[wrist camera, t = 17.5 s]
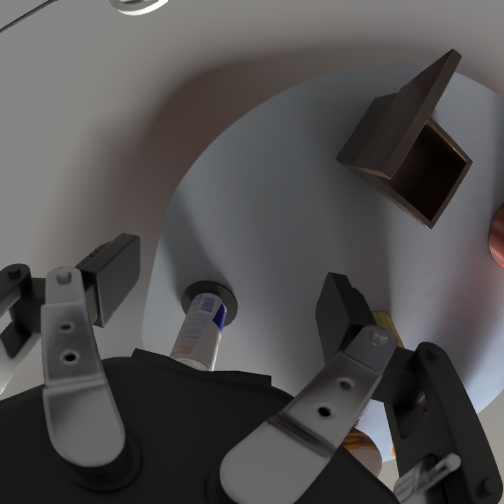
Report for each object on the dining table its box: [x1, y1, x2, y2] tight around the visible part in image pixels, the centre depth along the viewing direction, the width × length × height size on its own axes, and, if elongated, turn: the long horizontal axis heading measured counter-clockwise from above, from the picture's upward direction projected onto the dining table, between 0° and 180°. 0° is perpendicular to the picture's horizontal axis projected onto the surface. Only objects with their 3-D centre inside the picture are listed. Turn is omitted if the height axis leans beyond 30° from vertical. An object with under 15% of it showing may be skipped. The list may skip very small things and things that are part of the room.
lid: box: [352, 49, 462, 179], centre depth 19 cm, size 13×11×1 cm
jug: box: [341, 427, 382, 477], centre depth 46 cm, size 20×18×30 cm
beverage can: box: [170, 293, 227, 371], centre depth 39 cm, size 6×6×15 cm
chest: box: [336, 93, 473, 230], centre depth 31 cm, size 13×11×9 cm
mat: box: [182, 281, 238, 327], centre depth 46 cm, size 9×9×1 cm
